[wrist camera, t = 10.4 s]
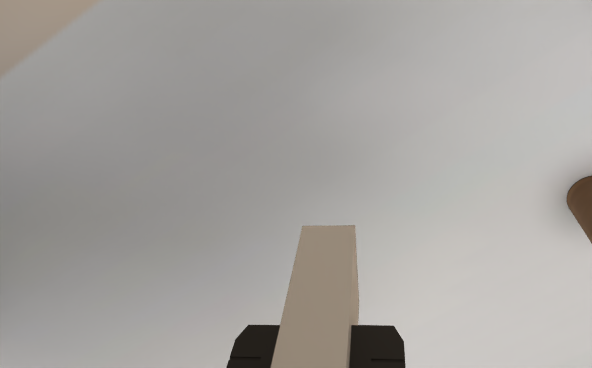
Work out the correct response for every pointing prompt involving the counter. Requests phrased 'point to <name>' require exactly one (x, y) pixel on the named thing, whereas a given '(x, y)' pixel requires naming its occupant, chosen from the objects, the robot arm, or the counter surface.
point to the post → (582, 204)
